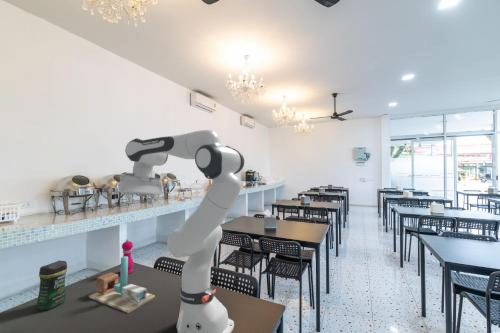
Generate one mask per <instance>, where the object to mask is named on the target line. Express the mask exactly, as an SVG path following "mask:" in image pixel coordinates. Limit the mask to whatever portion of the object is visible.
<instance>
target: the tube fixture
mask: <svg viewBox="0 0 500 333" xmlns="http://www.w3.org/2000/svg"><path fill="white" fill-rule="evenodd" d="M116 284H119V274H118V273H114V272H111V271H110V272H108V273H106V274H103V275H100V276H98V277H96V292H94V293H91V294H89V295H88V298H89V299H92V300H93V301H96V302H99V303H101V304H103V305H106V306H109V307H112V308H114V309H117V310H120V311H122V312H124V313H127V314H129V313H131V312H133V311H135V310H136V309H138V308H140V307H142V306H143V305H145V304H146V303H148V302H150V301H152V300H153V299H156V295H154V294H152V293H149V292H148V289H147V288H146V287H142V286H139V285H136V284H132V283H130V284H129V283H128V284H127V286H125V287H122V294H120V293H117V292H114V285H116ZM143 291H144V297H143V298H141V299H139V293H141V292H143Z"/></svg>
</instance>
